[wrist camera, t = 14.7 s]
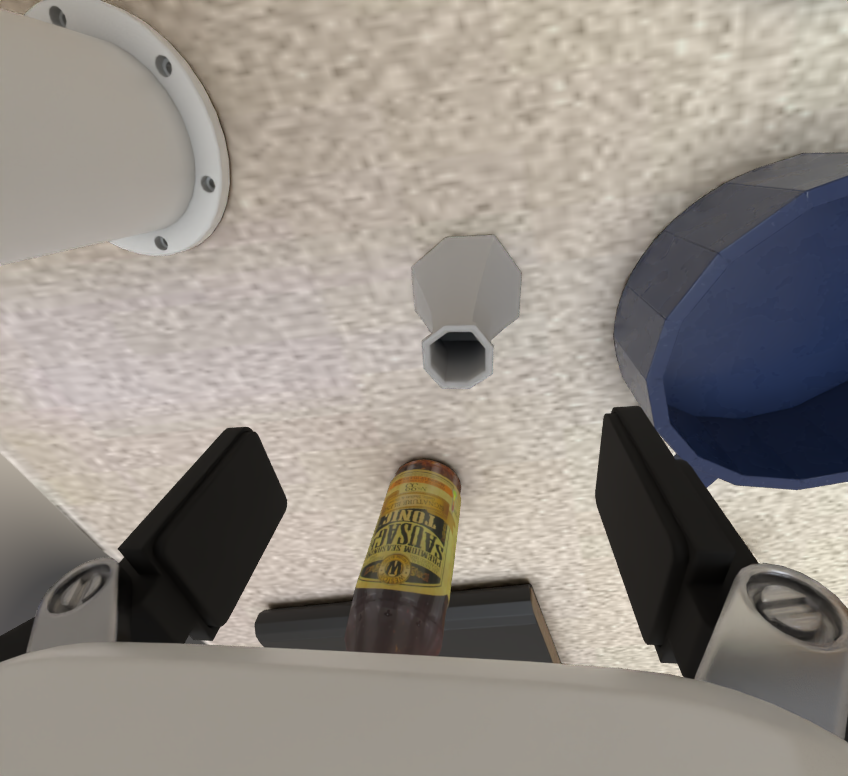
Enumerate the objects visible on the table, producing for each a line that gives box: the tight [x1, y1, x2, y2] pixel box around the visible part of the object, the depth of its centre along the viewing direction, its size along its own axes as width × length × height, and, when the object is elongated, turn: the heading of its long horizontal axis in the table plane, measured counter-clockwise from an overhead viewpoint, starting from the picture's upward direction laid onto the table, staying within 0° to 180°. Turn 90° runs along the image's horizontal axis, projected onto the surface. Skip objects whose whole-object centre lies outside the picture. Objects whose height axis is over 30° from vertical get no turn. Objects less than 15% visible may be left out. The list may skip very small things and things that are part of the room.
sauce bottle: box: [344, 459, 461, 656], centre depth 26 cm, size 6×6×20 cm
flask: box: [412, 235, 522, 389], centre depth 21 cm, size 7×7×10 cm
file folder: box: [255, 584, 561, 664], centre depth 48 cm, size 33×4×24 cm
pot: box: [613, 152, 848, 490], centre depth 21 cm, size 17×22×6 cm
